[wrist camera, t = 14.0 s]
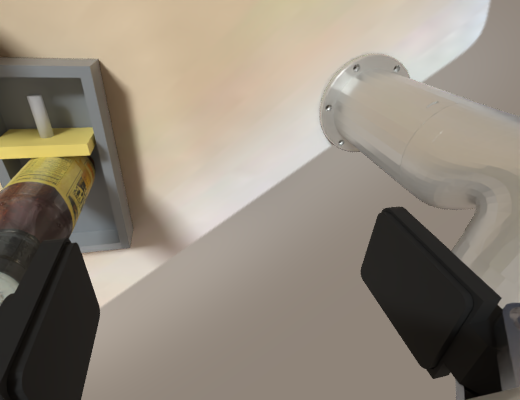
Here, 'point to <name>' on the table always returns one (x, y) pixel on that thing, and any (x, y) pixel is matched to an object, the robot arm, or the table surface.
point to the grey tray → (71, 116)
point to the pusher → (45, 137)
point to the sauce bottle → (39, 211)
